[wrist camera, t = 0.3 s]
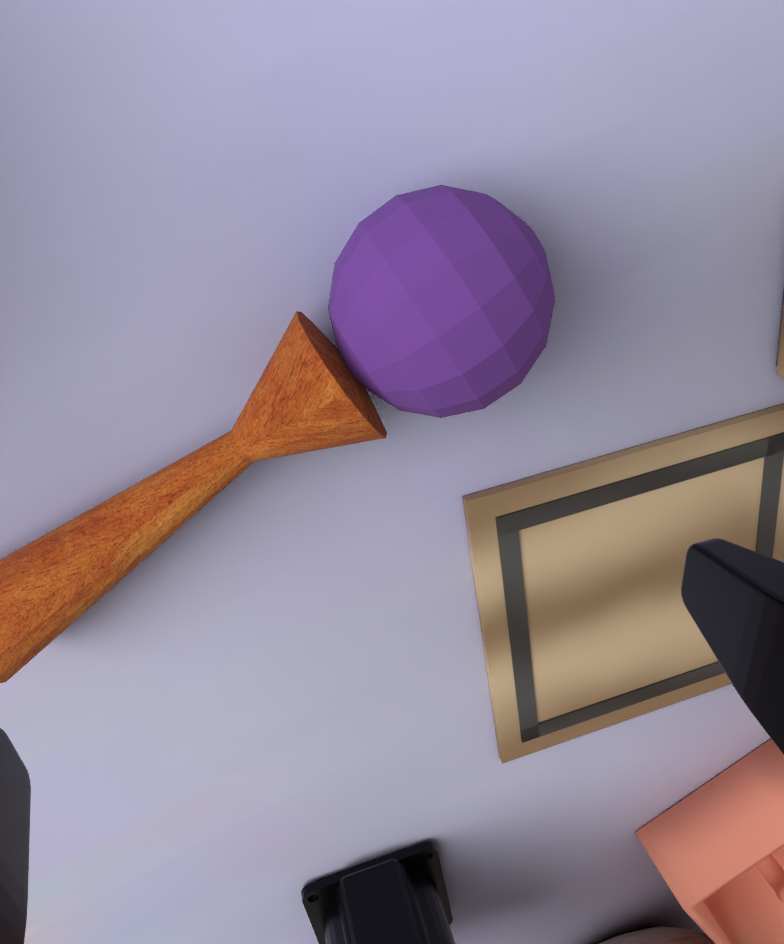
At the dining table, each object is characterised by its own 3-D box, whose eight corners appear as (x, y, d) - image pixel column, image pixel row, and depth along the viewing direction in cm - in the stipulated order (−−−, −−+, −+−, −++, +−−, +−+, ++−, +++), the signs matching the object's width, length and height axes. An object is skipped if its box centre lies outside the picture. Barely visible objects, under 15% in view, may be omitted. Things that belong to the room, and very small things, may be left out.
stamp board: (961, 595, 36) (971, 601, 36) (499, 756, 33) (503, 765, 32) (1036, 330, 29) (1049, 334, 29) (462, 496, 26) (467, 503, 25)
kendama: (-168, 622, 18) (500, 126, 15) (-52, 523, 24) (454, 146, 21) (9, 767, 20) (628, 352, 17) (78, 645, 26) (554, 315, 23)
